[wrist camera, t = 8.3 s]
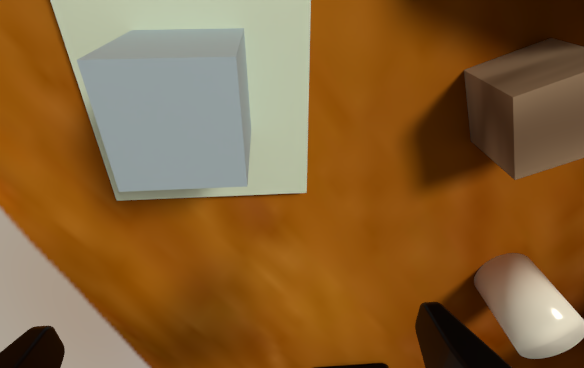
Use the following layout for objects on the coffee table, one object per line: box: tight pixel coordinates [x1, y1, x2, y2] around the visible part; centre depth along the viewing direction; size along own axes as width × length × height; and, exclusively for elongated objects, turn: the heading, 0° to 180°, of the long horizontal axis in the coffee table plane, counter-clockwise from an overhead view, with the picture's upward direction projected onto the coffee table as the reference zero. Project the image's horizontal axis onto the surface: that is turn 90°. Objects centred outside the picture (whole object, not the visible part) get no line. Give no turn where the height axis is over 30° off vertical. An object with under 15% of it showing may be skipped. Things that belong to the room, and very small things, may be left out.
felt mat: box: [50, 0, 311, 201], centre depth 16 cm, size 12×10×1 cm
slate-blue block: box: [77, 28, 251, 192], centre depth 13 cm, size 4×4×5 cm
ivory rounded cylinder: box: [474, 253, 584, 359], centre depth 23 cm, size 4×4×5 cm
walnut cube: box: [464, 38, 584, 180], centre depth 16 cm, size 4×4×4 cm
